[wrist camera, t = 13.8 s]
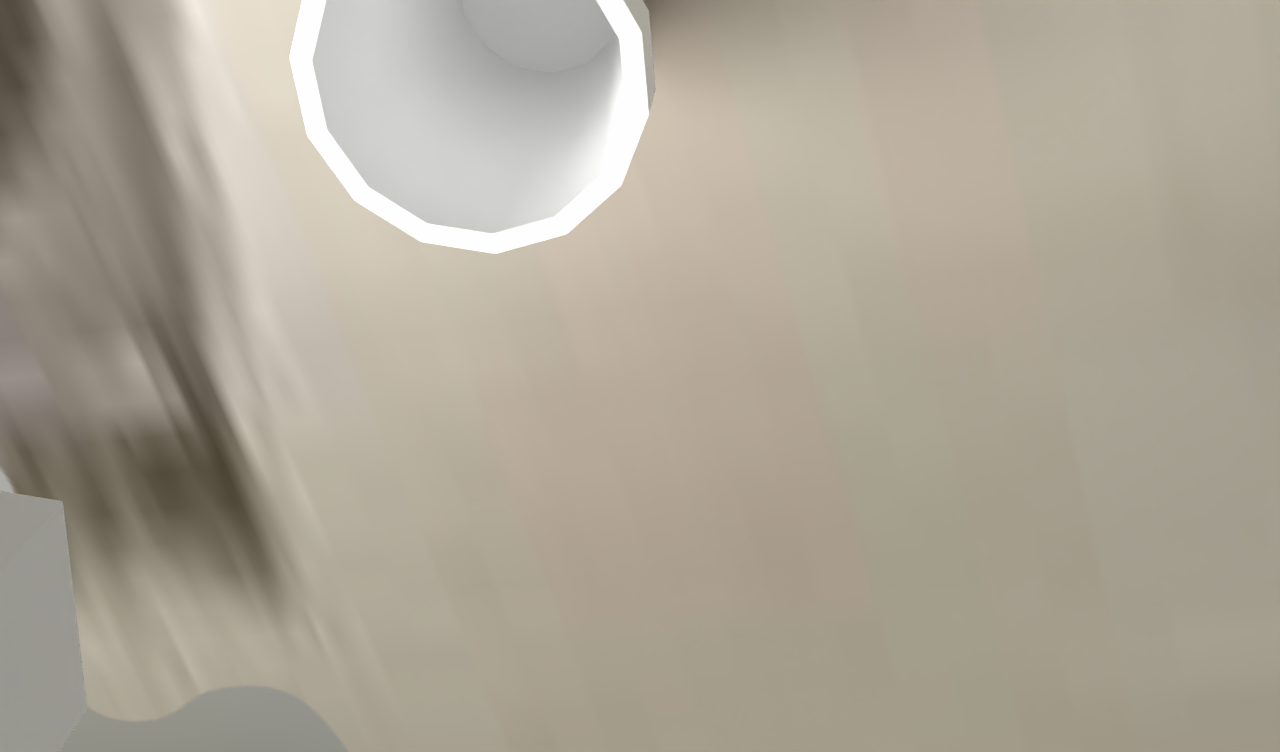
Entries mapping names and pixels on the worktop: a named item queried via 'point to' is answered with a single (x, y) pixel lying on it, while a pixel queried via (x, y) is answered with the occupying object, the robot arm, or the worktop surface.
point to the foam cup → (476, 110)
